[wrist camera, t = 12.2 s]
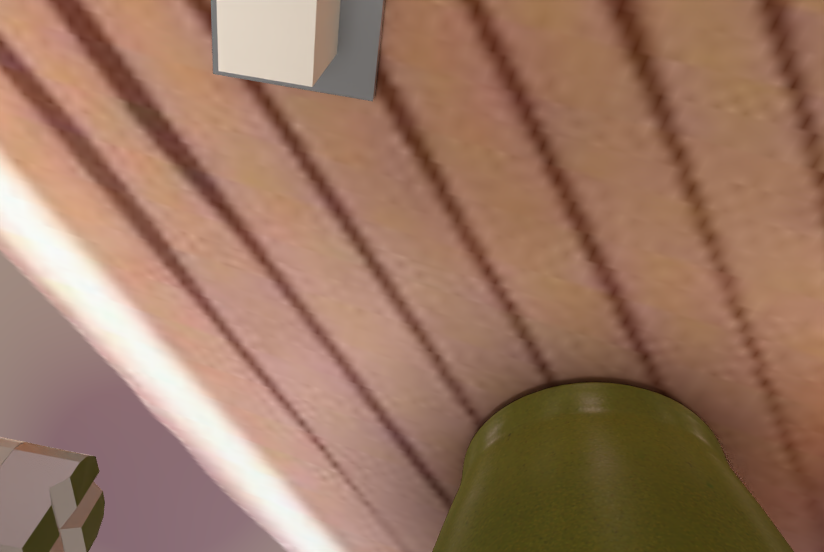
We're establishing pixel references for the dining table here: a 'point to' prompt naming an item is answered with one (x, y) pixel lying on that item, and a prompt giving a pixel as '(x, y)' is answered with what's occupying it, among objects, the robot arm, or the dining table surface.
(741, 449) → the dining table surface
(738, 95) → the dining table surface
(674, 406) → the plant pot
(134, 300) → the dining table surface
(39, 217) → the dining table surface
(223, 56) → the cream block
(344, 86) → the slate coaster
